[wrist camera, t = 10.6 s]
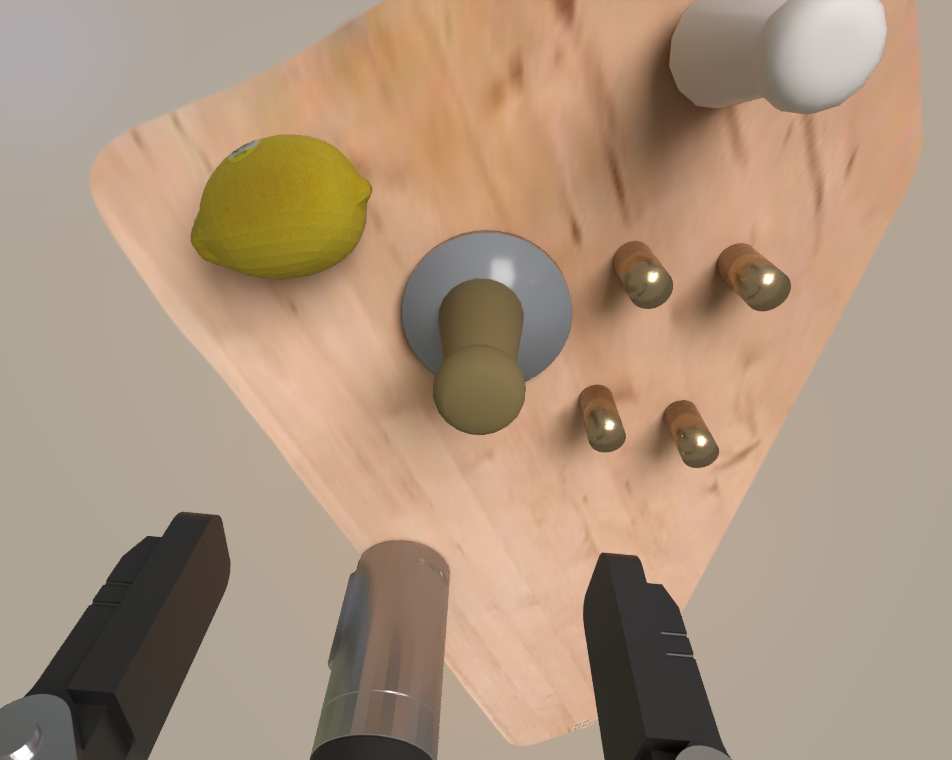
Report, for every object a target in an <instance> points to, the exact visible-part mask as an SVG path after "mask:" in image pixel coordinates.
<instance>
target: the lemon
mask: <svg viewBox="0 0 952 760" xmlns="http://www.w3.org/2000/svg"><path fill="white" fill-rule="evenodd" d="M371 193H372V187H371V184H370V182H369V181H368V180H366V179H365V178H363V177H362V176H361V175H360V174H359V173H358V172H357V171H356V169H355V167H354V166H353V164H352V163H351V162H350V161H349V160H348V159H347V158H346V157H345V156H344V155H343V154H342V153H341V152H340V151H339V150H338V149H337V148H335V147H334V146H332V145H331V144H329V143H327V142H325V141H322V140H319V139H315V138H312V137H308V136H301V135H278V136H272V137H268V138H263V139H258V140H254V141H252V142H250V143H247V144H245V145H243V146H242V147H240V148H238V149H237V150H235V151H233V152H232V153H231V154H230V155H229V156H228V157H226V158H225V159H224V160H223V161H222V163H221V164H220V165H219V166H218V167H217V168H216V170H215V171H214V173H213V174H212V176H211V177H210V179H209V180H208V182H207V184H206V187H205V189H204V192H203V195H202V199H201V203H200V210H199V213H198V215H197V218H196V219H195V222H194V226H193V228H192V232H191V243H192V245H193V246H194V248H195V249H196V251H197V252H198V254H199V255H200V256H201V257H202V258H203V259H205V260H206V261H209V262H212V263H214V264H217V265H222V266H225V267H227V268H230V269H233V270H236V271H239V272H242V273H245V274H248V275H252V276H256V277H262V278H272V279H288V278H295V277H301V276H306V275H310V274H314V273H318V272H321V271H324V270H326V269H328V268H330V267H332V266H334V265H336V264H337V263H339V262H340V261H342V260H343V259H344V258H345V257H346V256H347V255H348V254H350V253H351V252H352V251H353V249H354V248H355V247H356V245H357V244H358V242H359V240H360V238H361V236H362V233H363V231H364V228H365V224H366V211H367V202H368V200H369V198H370V196H371Z"/></svg>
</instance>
